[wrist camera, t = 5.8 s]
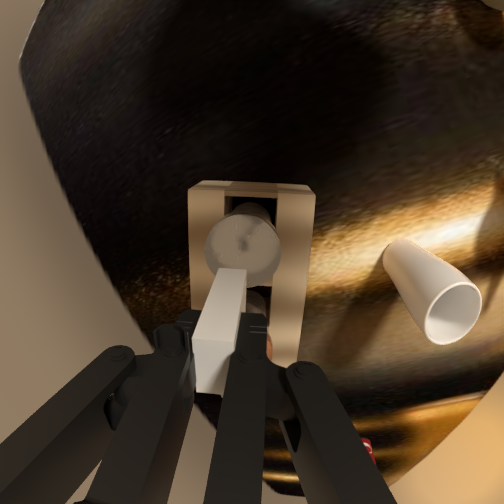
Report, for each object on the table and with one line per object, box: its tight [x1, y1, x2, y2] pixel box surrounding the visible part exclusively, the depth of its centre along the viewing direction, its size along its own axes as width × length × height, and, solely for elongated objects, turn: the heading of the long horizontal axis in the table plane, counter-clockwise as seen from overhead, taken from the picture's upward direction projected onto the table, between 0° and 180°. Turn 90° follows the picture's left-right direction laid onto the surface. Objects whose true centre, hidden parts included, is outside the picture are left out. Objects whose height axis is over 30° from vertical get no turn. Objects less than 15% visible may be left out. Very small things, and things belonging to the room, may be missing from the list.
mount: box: [188, 180, 316, 368], centre depth 36 cm, size 24×12×7 cm, turn 178°
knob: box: [204, 202, 281, 288], centre depth 26 cm, size 5×5×8 cm
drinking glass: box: [383, 238, 482, 345], centre depth 31 cm, size 7×7×15 cm
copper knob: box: [245, 289, 273, 362], centre depth 29 cm, size 5×5×8 cm
